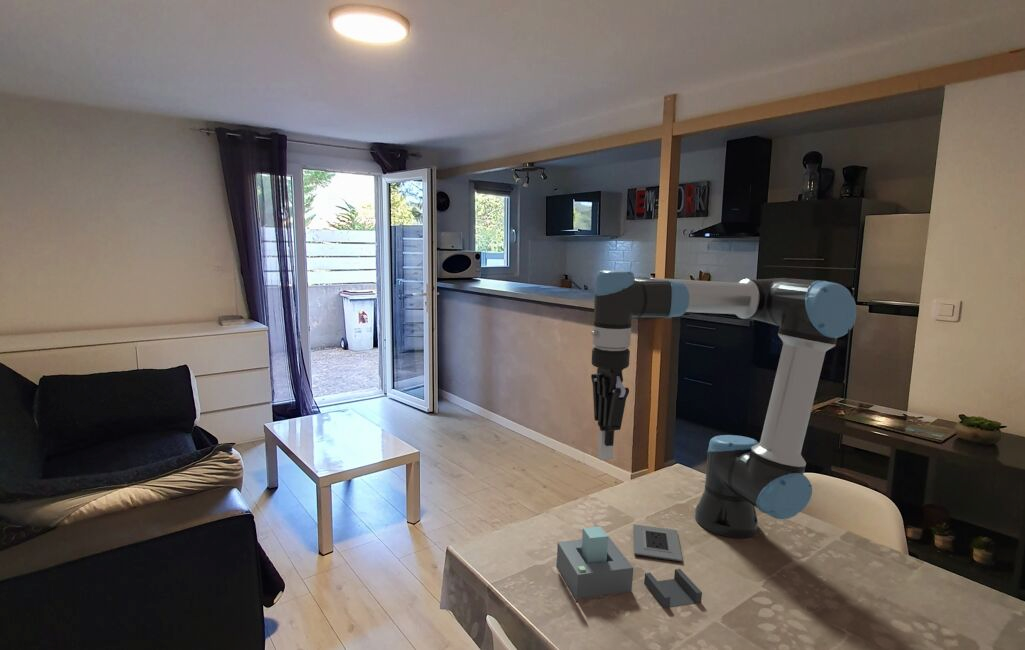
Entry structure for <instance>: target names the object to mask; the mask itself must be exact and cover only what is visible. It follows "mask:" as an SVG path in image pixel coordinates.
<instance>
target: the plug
mask: <svg viewBox="0 0 1025 650" xmlns="http://www.w3.org/2000/svg"><path fill="white" fill-rule="evenodd" d="M608 536H609V535H608V534H607V533H606V532H605V530H604V529H603V528H602V526H592V527H591V526H590V527H589V526H588V527H582V538H581V539H582V552H581V557H582V558H583V560H584V561H585V563H586V564H592V563H600V562H607V548H608Z"/></svg>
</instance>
